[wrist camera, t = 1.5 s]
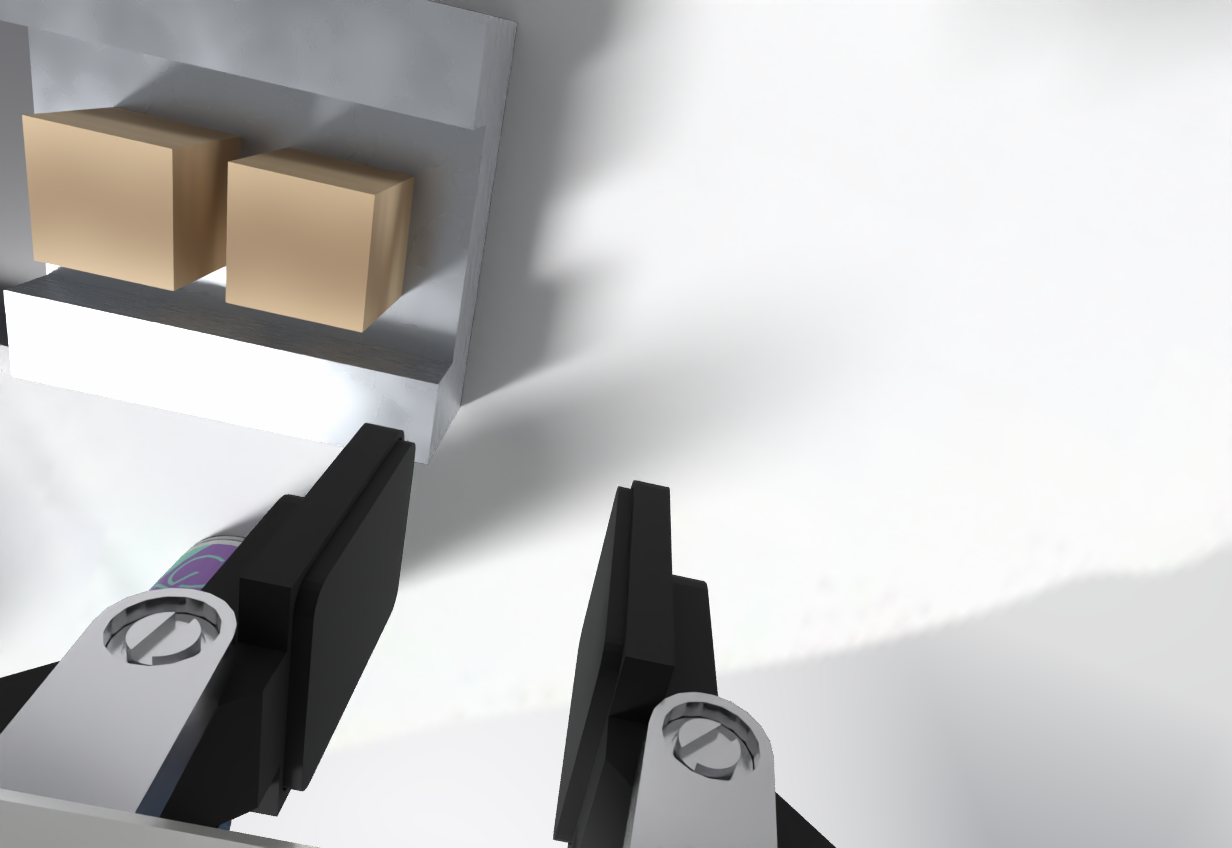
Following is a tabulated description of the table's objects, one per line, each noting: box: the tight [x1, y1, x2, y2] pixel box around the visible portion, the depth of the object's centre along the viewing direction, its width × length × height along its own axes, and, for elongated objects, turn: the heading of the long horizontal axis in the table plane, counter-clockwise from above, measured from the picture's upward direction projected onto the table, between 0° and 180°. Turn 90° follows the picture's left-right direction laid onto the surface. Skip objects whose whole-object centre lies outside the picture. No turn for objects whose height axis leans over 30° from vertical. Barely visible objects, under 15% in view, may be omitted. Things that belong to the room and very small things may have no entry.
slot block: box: [0, 0, 517, 465], centre depth 27 cm, size 14×14×5 cm
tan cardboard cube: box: [22, 107, 242, 291], centre depth 24 cm, size 4×4×4 cm
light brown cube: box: [226, 147, 415, 332], centre depth 25 cm, size 4×4×4 cm
